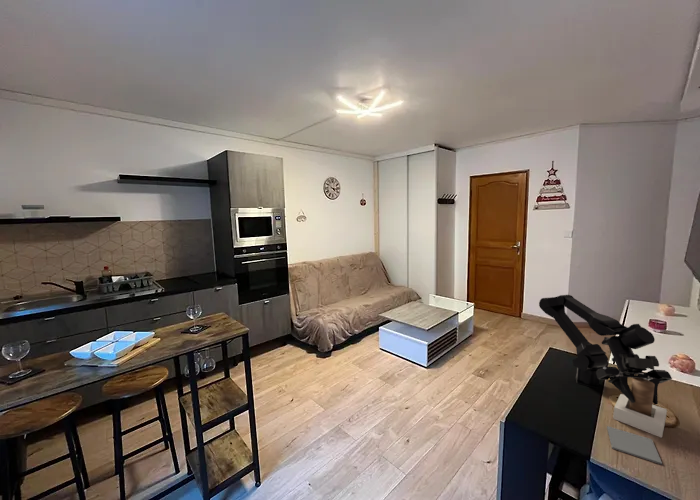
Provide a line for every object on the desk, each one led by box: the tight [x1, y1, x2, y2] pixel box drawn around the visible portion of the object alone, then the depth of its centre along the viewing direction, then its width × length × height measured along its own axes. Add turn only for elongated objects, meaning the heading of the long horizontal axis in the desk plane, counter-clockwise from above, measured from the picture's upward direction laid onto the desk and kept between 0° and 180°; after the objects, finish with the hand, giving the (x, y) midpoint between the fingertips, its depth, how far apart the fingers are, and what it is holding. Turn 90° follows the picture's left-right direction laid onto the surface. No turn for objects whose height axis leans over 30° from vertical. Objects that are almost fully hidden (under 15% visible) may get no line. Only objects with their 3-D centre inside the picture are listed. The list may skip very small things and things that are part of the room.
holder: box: [612, 393, 668, 439], centre depth 96 cm, size 11×11×4 cm
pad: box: [606, 425, 663, 466], centre depth 86 cm, size 10×10×1 cm
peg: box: [629, 377, 655, 417], centre depth 95 cm, size 5×5×13 cm
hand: (644, 403), depth 94 cm, fingers open, 6 cm apart
